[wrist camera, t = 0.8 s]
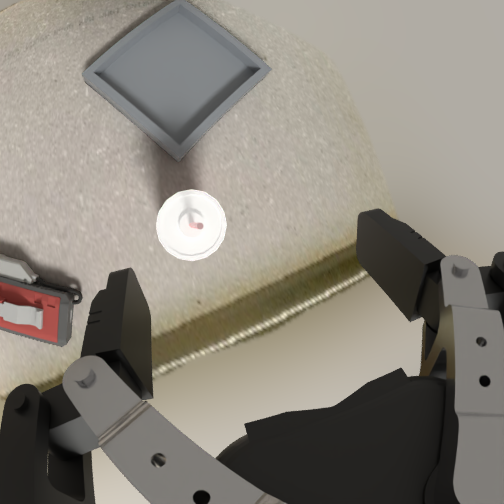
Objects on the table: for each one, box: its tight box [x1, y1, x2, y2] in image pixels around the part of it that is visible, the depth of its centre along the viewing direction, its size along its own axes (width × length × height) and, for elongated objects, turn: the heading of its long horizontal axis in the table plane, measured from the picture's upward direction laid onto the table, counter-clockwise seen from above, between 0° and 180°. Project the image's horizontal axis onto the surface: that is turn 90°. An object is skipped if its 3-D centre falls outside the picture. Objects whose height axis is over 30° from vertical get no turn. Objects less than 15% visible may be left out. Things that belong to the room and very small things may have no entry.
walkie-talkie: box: [0, 254, 83, 347], centre depth 28 cm, size 9×4×20 cm
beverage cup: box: [156, 189, 227, 261], centre depth 29 cm, size 6×6×14 cm
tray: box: [82, 0, 272, 162], centre depth 32 cm, size 16×16×2 cm
